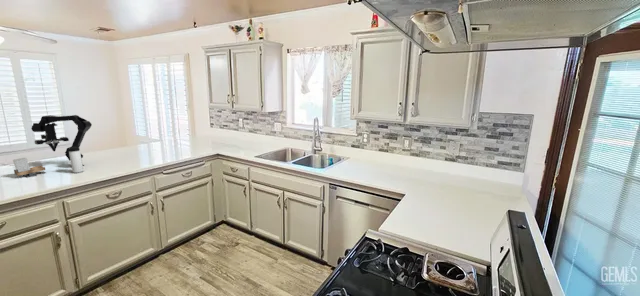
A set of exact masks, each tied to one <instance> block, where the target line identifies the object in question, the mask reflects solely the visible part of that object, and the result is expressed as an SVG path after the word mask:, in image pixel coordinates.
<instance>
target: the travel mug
mask: <svg viewBox="0 0 640 296" xmlns="http://www.w3.org/2000/svg"><path fill="white" fill-rule="evenodd" d="M71 146H72V145H71ZM71 146H70V147H67V148H68V150H69V156H70V167H71V166H72V167H71V170H72V174H82V173H83V172H84V167H83V165H84V164H83V160H81V159H82V158H81V154H82V153H81V150H80V147H79V146H72V147H71ZM80 153H81V154H80ZM82 164H83V165H82Z"/></svg>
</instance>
